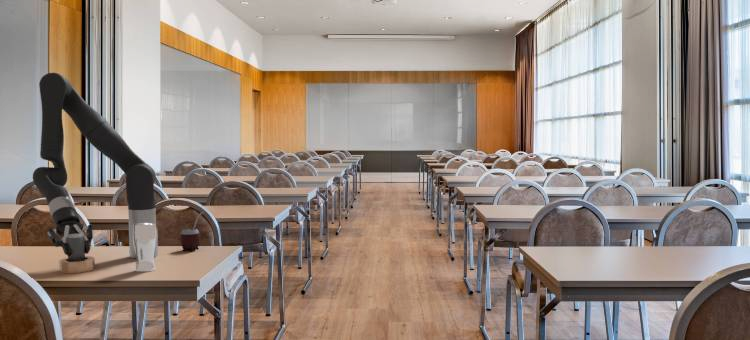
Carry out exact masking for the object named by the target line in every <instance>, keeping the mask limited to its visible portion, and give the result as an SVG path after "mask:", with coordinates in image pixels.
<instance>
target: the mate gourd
mask: <svg viewBox="0 0 750 340" xmlns="http://www.w3.org/2000/svg"><path fill="white" fill-rule="evenodd" d="M204 212H205V210H204V211H202V212H200V213H199V214H198V215H197V216H196V218H195V222H194V224H193V228H184V229H182V231H181V233H180V243H181V248H182V252H189V251H188V250H190V252H195V251H196V250H195V249H199V248H200V247H199V245H200V241H201V240H200V239H201V234H200V231H199V230H198V229H197V228H196V226H197V222H198V220H199V218H200V216H201V215H202V214H203V213H204Z"/></svg>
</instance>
